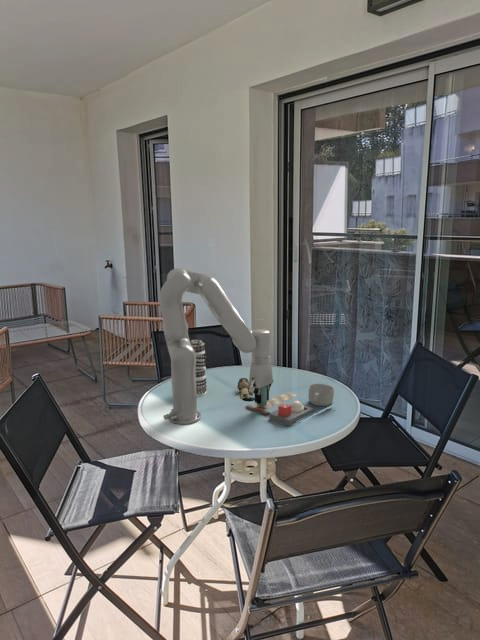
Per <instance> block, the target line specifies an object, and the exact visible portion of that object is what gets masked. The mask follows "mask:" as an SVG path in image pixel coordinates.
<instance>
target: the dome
mask: <svg viewBox="0 0 480 640" xmlns="http://www.w3.org/2000/svg"><path fill="white" fill-rule="evenodd" d="M289 404H290V405H291V411H292V412H295V413H300V412H302V411H304V406H303V405H304V404H302V402H300V400H294V401H292V402H291V403H289Z"/></svg>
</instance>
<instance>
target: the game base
mask: <svg viewBox="0 0 480 640" xmlns="http://www.w3.org/2000/svg"><path fill="white" fill-rule="evenodd" d="M290 404H291V403H289V404H287V403H282V404H281V403H280V404H279V405H278V406H277V407H278V409H277V410H274V411H272V412H270V413H269V415H268V416H269V420H271V421H272V422H276V423H279V424H280V425H284V426H286V427H291V426H293V425H296V424H297V423H298V422H301V421H303V420H305V419H307V418H309V417H311V416H313V415H314V411H315V410H314V407H310V406H307V405H304V404H302V405H303V406H304V411H302V412H300V413H295V412H292V411H291V405H290ZM297 420H298V421H297Z"/></svg>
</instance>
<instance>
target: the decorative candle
mask: <svg viewBox="0 0 480 640" xmlns="http://www.w3.org/2000/svg"><path fill="white" fill-rule="evenodd" d="M190 344H191V345H192V347H193V349H194V351H195V355H196V367H195V376H196V397H201V396H202V395H203V396H205V395H206V394H207V390H208V389H207V387H208V386H207V377H206V369H207V367H206V366H207V360H206V359H207V356H206V355H207V352H206V350H205V342H203V341H202V340H201V339H191V340H190Z"/></svg>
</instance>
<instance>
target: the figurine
mask: <svg viewBox="0 0 480 640" xmlns="http://www.w3.org/2000/svg"><path fill="white" fill-rule="evenodd" d="M249 388H250V385H249V379H248V378H247V377H241V378H239V379H238V382H237V386H236V389H238V390H237V391H236V392H235V395H236V396H237V395H238V394H240V399H241V400H242V399H243V398H244V397H246V399H247V400H248V399H250V394H251V395H254V393H253V392H252V391H251V390H249ZM243 400H244V399H243Z"/></svg>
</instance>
